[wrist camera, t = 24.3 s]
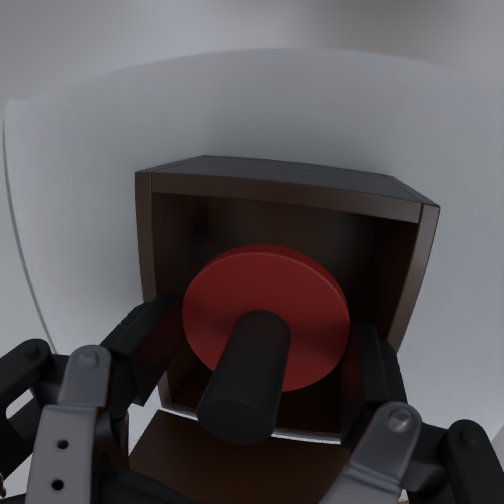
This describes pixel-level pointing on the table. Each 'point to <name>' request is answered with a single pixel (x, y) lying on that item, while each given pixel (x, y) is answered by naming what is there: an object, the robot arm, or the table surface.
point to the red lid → (261, 334)
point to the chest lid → (235, 464)
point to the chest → (289, 236)
